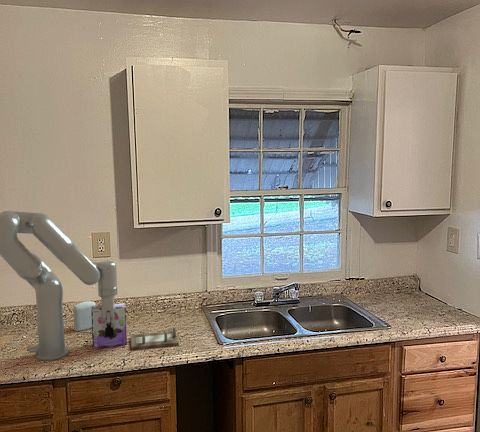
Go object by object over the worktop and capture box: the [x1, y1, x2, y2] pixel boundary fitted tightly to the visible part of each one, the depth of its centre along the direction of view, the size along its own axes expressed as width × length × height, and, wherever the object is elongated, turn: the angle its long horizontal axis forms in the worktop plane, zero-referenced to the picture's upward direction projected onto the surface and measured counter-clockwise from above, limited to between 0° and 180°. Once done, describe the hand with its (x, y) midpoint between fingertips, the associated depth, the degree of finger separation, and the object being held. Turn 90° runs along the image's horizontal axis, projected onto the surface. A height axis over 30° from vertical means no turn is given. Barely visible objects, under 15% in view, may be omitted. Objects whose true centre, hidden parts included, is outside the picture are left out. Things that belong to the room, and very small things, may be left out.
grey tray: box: [130, 326, 180, 351], centre depth 206 cm, size 19×14×5 cm
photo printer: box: [72, 300, 97, 332], centre depth 222 cm, size 10×4×12 cm, turn 134°
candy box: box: [91, 302, 128, 349], centre depth 202 cm, size 14×6×16 cm, turn 105°
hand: (109, 333), depth 203 cm, fingers closed on candy box, 5 cm apart
